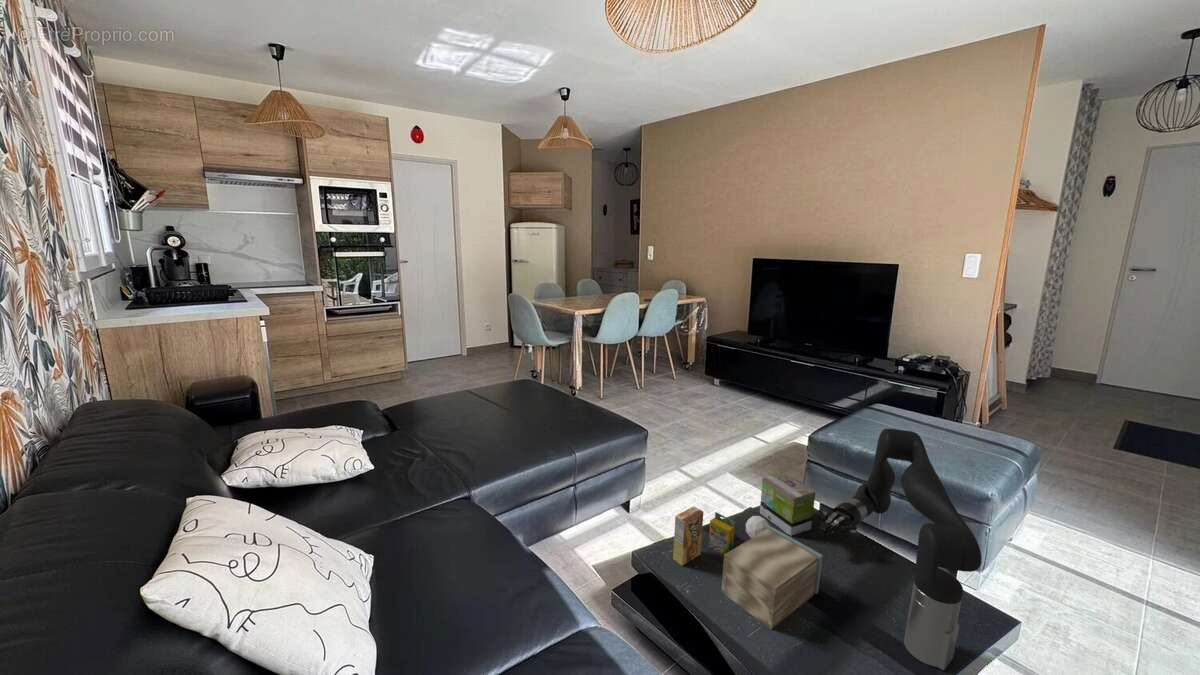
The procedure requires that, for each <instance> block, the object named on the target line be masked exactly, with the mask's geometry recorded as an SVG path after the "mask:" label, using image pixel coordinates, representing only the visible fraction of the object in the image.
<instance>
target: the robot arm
mask: <svg viewBox="0 0 1200 675" xmlns="http://www.w3.org/2000/svg"><path fill="white" fill-rule="evenodd" d="M876 445H877V446H876V450H875V455H874V460H873V466H872V470H871V472H870V474H869V477H868V479H867V482H866V483H863V484H861V485H860V486H859V487H858V489H857V490H856V493H855V495H853V497H851V498H849V499H847V500H844V501H843V502H842V503H840V504H838V505H836V506H834V507H833V509H832V510H829V511H827V512H824V511H823V510H822V509H819V510H818V512H817V519H818V521H819V533H820V534H822V536H826V535H827V536H828V535H830V534H831V533H836V534H837V535H843V536H844V535H845V536H847V535H848V536H857V530H858V528H857V526H858V525H859V524H861V523H862V522H863V521H864V520H865V519H866V518H867V517H869V516H870V515H872V514H873V513H876V514H884V513H886V512H887V511H888V510H889V509H890V507H891V502H892V498H891V491H892V488H893V486H894V484H895V482H896V474H895V471H894V469H893V467H892V466H891V464H890V463H889V461H888V459H892V460H897V461H898V460H899V461H902V462H903V461H904V462H905V461H906V462H910V463H911V464H910V465H909V466H908V467H906V468H905V470H904V471H903V473H902V474H901V478H900V484H901V487H902V490H903V492H904V495H905V497H906V499H907V501H908V503H909V504H910V505H911V507H913V508H914V509H915V510H916V511H917V512H919V513H920V514H921V515H923V516H924V517H925V518H927V519H928V520H929V521H931V523H930V522H925V523H924V524H923V525H922V526H921V527H920V529H919V532H918V541H917V552H916V559H915V571H914V572H915V573H914V581H913V586H912V591H911V599H910V603H909V608H908V609H909V610H908V615H907V620H906V621H907V622H906V625H905V626H906V627H905V632H904V639H903V642H904V646H905V648H906V650H907V651H908V652H909V654H910V655H912V657H914V658H915V659H917V660H918V661H919V662H921V663H923V664H925V665H928V666H930V667H935V668H938V669H940V670H942V671H946V669H947V667H948V665H950V664H951V661H952V660H953V659H954V654H955V651H956V647H957V646H956V645H957V640H958V636H959V629H960V623H958V620H959V614H960V610H961V606H962V600H963V596H964V588H963V587H964V586H962V583H961V582H960V581H959V579H957V578H956V576H954V575H953V574H951V573H949V572H947V571H946V570H944V569H948V570H953V571H959V572H967V573H969V572H970V573H971V572H972V573H973V572H976V571H977V570H978V569H979V568H981V566H982V559H983V558H982V552H981V548H980V545H979V542H978V540H977V538H976V536H975V534H974V533H973V531H972V530H971V529H970V527H969V526H968V524H967V522H966V521H965V520H964V519H963V517H962V516H961V515H960V513H959V512H958V511H957V509H956V507H955V506H954V504H953V502H952V500H951V499H950V498H951V497H949V494H948V492H947V490H946V488H945V486H944V484H943V483H942V480H941V478H940V477H939V476H938V474H937V472H936V470H935V468H934V466H933V464H932V462H931V461H930V458H929V455H928V452H927V449H926V447H925V444H924V442H923V440H922V438H921V436H920V435H919V434H918V433H917V432H914V431H911V430H904V429H898V428H884V429H883V430H881V432H880V434H879V436H878V440H877V444H876ZM942 568H943V569H942Z"/></svg>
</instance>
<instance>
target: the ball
mask: <svg viewBox="0 0 1200 675" xmlns="http://www.w3.org/2000/svg"><path fill="white" fill-rule="evenodd" d="M768 525H769V526H771V525H770V523H769V522H768V520H767V519H765V517H763V516H761V515H752V516H751V517H750V518H748V519H747V522H746V523H745V533H747V535H748V536H749V537H750V539H751V538H753V537H755V536H756V535H758V534H760V533H761V532H763V531H765V530H766V527H767V526H768Z"/></svg>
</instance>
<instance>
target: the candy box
mask: <svg viewBox="0 0 1200 675" xmlns="http://www.w3.org/2000/svg"><path fill="white" fill-rule="evenodd" d="M703 522H704V511H703V510H701V509H700V508H698V507H697V506H694V505H693V506H692V507H690V508H688V509H685V510H684V511H682V512H680V513H678V514H677V515H675V517H674V533H673V534H674V536H673V537H674V539H673V552H672V553H673V554H672V555H673V556H672V560H673V561H674V562H676V563H678V564H679V565H680V566H684V565H686V564H688V563H689V562H690V561H693V560H694V559H696V558H697V557H699V556H700V555H701V554H702V553H701V552H702V538H703V537H702V536H703V524H704V523H703Z"/></svg>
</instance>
